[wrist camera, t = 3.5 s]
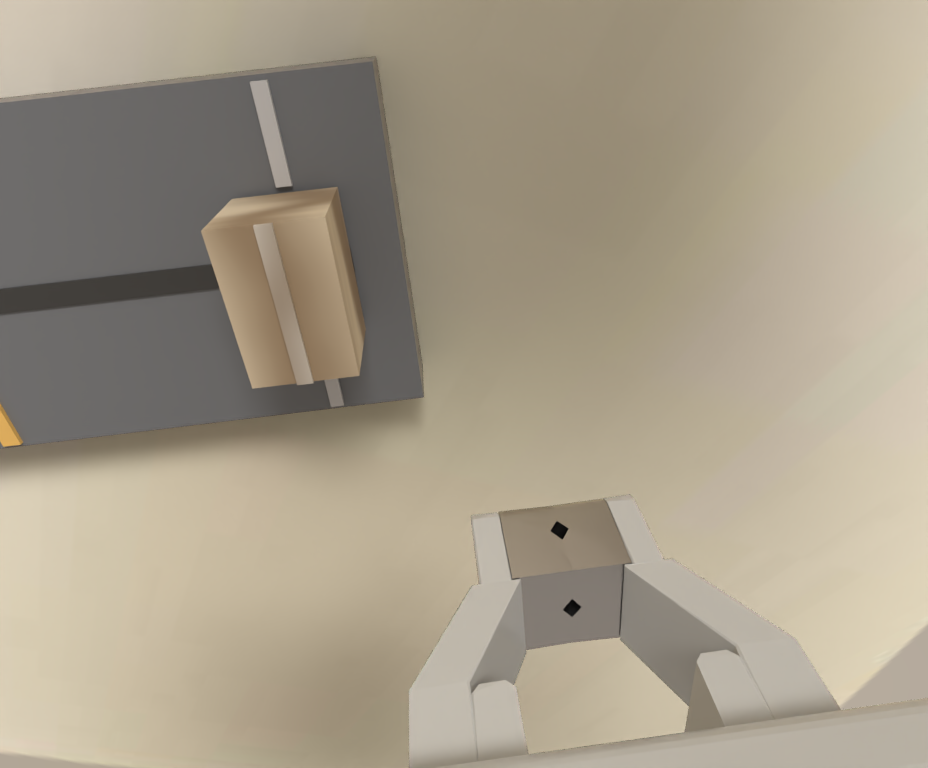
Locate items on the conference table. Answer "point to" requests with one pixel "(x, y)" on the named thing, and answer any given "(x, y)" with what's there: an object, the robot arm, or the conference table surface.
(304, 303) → the fader tab
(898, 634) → the conference table surface
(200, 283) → the fader console
